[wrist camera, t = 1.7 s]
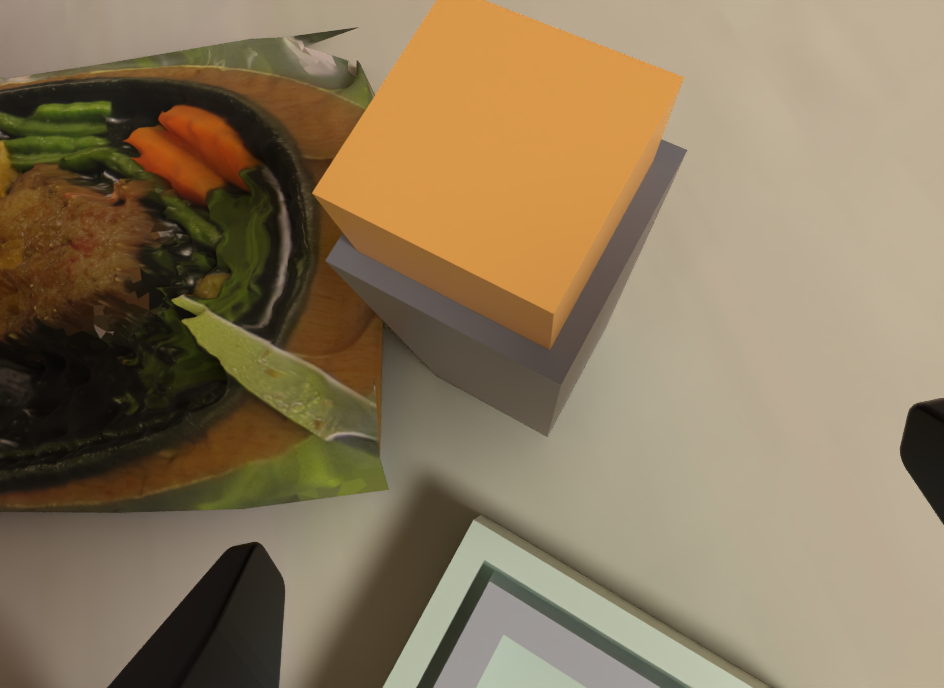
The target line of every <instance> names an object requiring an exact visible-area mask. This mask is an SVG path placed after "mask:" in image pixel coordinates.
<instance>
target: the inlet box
mask: <svg viewBox="0 0 944 688" xmlns="http://www.w3.org/2000/svg"><path fill="white" fill-rule="evenodd" d="M383 688H771V687H770V686H768V685H766V684H765V683H763V682H761V681H760V680H758V679H756V678H755V677H753V676H751V675H750V674H748V673H746V672H745V671H743V670H741V669H740V668H738V667H736V666H734V665H733V664H731V663H729V662H728V661H726V660H724V659H723V658H721V657H719V656H718V655H716V654H714V653H713V652H711V651H709V650H708V649H706V648H704V647H703V646H701V645H699V644H698V643H696V642H694V641H693V640H691V639H689V638H688V637H686V636H684V635H683V634H681V633H679V632H678V631H676V630H674V629H673V628H671V627H669V626H668V625H666V624H664V623H663V622H661V621H659V620H657V619H656V618H654V617H652V616H651V615H649V614H647V613H646V612H644V611H642V610H641V609H639V608H637V607H636V606H634V605H632V604H631V603H629V602H627V601H626V600H624V599H622V598H621V597H619V596H617V595H616V594H614V593H612V592H611V591H609V590H607V589H606V588H604V587H602V586H601V585H599V584H597V583H596V582H594V581H592V580H591V579H589V578H587V577H586V576H584V575H582V574H580V573H579V572H577V571H575V570H574V569H572V568H570V567H569V566H567V565H565V564H564V563H562V562H560V561H559V560H557V559H555V558H554V557H552V556H550V555H549V554H547V553H545V552H544V551H542V550H540V549H539V548H537V547H535V546H534V545H532V544H530V543H529V542H527V541H525V540H524V539H522V538H520V537H519V536H517V535H515V534H514V533H512V532H510V531H509V530H507V529H505V528H503V527H502V526H500V525H498V524H497V523H495V522H493V521H492V520H490V519H488V518H487V517H485V516H483V515H480V516H478V517H477V518H475V519H474V520H473V522H472V524H471V525H470V527H469V529H468V531H467V533H466V535H465V536H464V538H463V540H462V542H461V544H460V546H459V548H458V549H457V551H456V553H455V555H454V557H453V559H452V561H451V562H450V564H449V566H448V568H447V570H446V572H445V573H444V575H443V577H442V579H441V581H440V583H439V585H438V586H437V588H436V590H435V592H434V594H433V596H432V597H431V599H430V601H429V603H428V605H427V607H426V609H425V610H424V612H423V614H422V616H421V618H420V620H419V622H418V623H417V625H416V627H415V629H414V631H413V633H412V634H411V636H410V638H409V640H408V642H407V644H406V646H405V647H404V649H403V651H402V653H401V655H400V657H399V658H398V660H397V662H396V664H395V666H394V668H393V670H392V671H391V673H390V675H389V677H388V679H387V681H386V683H385V684H384V686H383Z"/></svg>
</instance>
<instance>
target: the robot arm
mask: <svg viewBox="0 0 944 688" xmlns="http://www.w3.org/2000/svg"><path fill="white" fill-rule="evenodd" d="M900 456H901V459H902V462H903V464H904V466H905V468H906V470H907V471H908V473H909V474H910V476H911V477H912V479H913V480H914V481H915V483H916V484H917V486H918V487H919V489H920V490H921V492H922V493H923V495H924V496H925V498H926V499H927V501H928V502H929V504H930V505H931V507H932V508H933V510H934V511H935V513H936V514H937V516H938V517H939V519H940V520H941V522H942V523H943V525H944V398H939V399H934V400H930V401H925V402H920V403H916V404H914V405H913V406H912V407H911V408H910V409H909V412H908V415H907V419H906V424H905V428H904V432H903V437H902V441H901V445H900ZM284 603H285V585H284V580H283V577H282V575H281V573H280V572H279V570H278V569H277V567H276V566H275V564H274V562H273V561H272V559H271V558H270V556H269V554H268V553H267V551H266V550H265V548H264V547H263V546H262V545H261V544H260V543H258V542H251V543H247V544H242V545H237V546H233V547H231V548H229V549H228V550H226V551H225V552H224V553H223V554H222V556H221V557H220V558H219V559H218V560H217V561H216V563H215V564H214V565H213V566H212V567H211V568H210V569H209V571H208V572H207V573H206V574H205V575H204V576H203V578H202V579H201V580H200V581H199V582H198V583H197V584H196V586H195V587H194V588H193V589H192V590H191V591H190V593H189V594H188V595H187V596H186V597H185V598H184V599H183V601H182V602H181V603H180V604H179V605H178V606H177V608H176V609H175V610H174V611H173V612H172V613H171V615H170V616H169V617H168V618H167V619H166V620H165V621H164V623H163V624H162V625H161V626H160V627H159V628H158V630H157V631H156V632H155V633H154V634H153V635H152V636H151V638H150V639H149V640H148V641H147V642H146V643H145V645H144V646H143V647H142V648H141V649H140V650H139V651H138V653H137V654H136V655H135V656H134V657H133V658H132V660H131V661H130V662H129V663H128V664H127V665H126V666H125V668H124V669H123V670H122V671H121V672H120V673H119V675H118V676H117V677H116V678H115V679H114V680H113V681H112V683H111V684H110V685H109V686H108V687H107V688H279V680H280V665H281V649H282V634H283V619H284Z"/></svg>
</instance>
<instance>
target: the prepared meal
mask: <svg viewBox="0 0 944 688" xmlns="http://www.w3.org/2000/svg"><path fill="white" fill-rule="evenodd" d="M358 28H359V27H358ZM353 29H356V28H350V29H343V30H336V31H328V32H321V33H313V34H306V35H299V36H291V37H282V38H263V39H248V40H242V41H236V42H230V43H224V44H219V45H213V46H207V47H201V48H195V49H189V50H183V51H177V52H171V53H166V54H160V55H154V56H148V57H142V58H136V59H130V60H124V61H118V62H113V63H107V64H101V65H94V66H88V67H81V68H74V69H68V70H61V71H54V72H48V73H41V74H34V75H27V76H21V77H14V78H0V512H95V513H122V512H153V511H187V510H220V509H246V508H253V507H261V506H268V505H276V504H283V503H291V502H298V501H306V500H314V499H321V498H329V497H336V496H344V495H351V494H359V493H366V492H374V491H382V490H389V489H388V485H387V482H386V478H385V475H384V471H383V467H382V464H381V460H380V428H381V387H382V346H383V320H382V319H381V318H380V317H379V316H378V315H377V314H376V313H375V312H374V311H373V310H372V309H371V308H370V307H369V306H368V305H367V303H366V302H365V301H364V300H363V299H362V298H361V297H360V296H359V295H358V294H357V293H356V292H355V291H354V290H353V289H352V288H351V287H350V286H349V285H348V284H347V283H346V282H345V281H344V280H343V279H342V278H341V277H340V276H339V275H338V273H337V272H336V271H335V270H334V269H333V268H332V267H331V266H330V265H329V264H328V263H327V262H326V261H325V260H326V259H327V257H328V256H329V254H330V252H331V251H332V249H333V248H334V246H335V244H336V243H337V241H338V240H339V238H340V236H341V235H342V233H343V232H342V231H341V229H340V228H339V227H338V226H337V224H336V223H335V222H334V221H333V219H332V218H331V217H330V215H329V214H328V213H327V212H326V210H325V209H324V208H323V207H322V205H321V204H320V203H319V201H318V200H317V199H316V198H315V196H314V195H313V194H312V192H313V191H314V189H315V188H316V186H317V185H318V183H319V181H320V180H321V178H322V177H323V175H324V174H325V172H326V171H327V169H328V168H329V166H330V164H331V163H332V161H333V160H334V158H335V157H336V155H337V154H338V152H339V151H340V149H341V147H342V146H343V144H344V143H345V141H346V140H347V138H348V137H349V135H350V134H351V132H352V130H353V129H354V127H355V126H356V124H357V123H358V121H359V120H360V118H361V117H362V115H363V113H364V112H365V110H366V109H367V107H368V106H369V104H370V103H371V101H372V100H373V98H374V96H375V94H374V92H373V90H372V88H371V86H370V84H369V82H368V80H367V78H366V76H365V73H364V71H363V69H362V67H361V65H360V63H359V62H358V61H357V73H356V77H355V76H353V75H352V74H351V73H350V72H349V71H348V61H347V60H344V59H341V58H338V57H335V56H331V55H328V54H325V53H322V52H319V51H316V50H312V49H309V48H306V47H305V46H308V45H311V44H314V43H317V42H319V41H322V40H325V39H328V38H331V37H333V36H336V35H339V34H342V33H345V32H347V31H350V30H353Z"/></svg>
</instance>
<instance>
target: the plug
mask: <svg viewBox="0 0 944 688" xmlns="http://www.w3.org/2000/svg"><path fill="white" fill-rule="evenodd" d="M683 79H684V77H682V76H679V75H677V74H674V73H671V72H669V71H666V70H664V69H661V68H659V67H656V66H653V65H651V64H648V63H646V62H643V61H640V60H638V59H635V58H633V57H630V56H627V55H625V54H622V53H620V52H617V51H614V50H612V49H609V48H607V47H604V46H601V45H599V44H596V43H594V42H591V41H588V40H586V39H583V38H581V37H578V36H575V35H573V34H570V33H568V32H565V31H563V30H560V29H557V28H555V27H552V26H550V25H547V24H544V23H542V22H539V21H537V20H534V19H531V18H529V17H526V16H524V15H521V14H518V13H516V12H513V11H511V10H508V9H505V8H503V7H500V6H498V5H495V4H492V3H490V2H487V1H485V0H437V1H436V2H435V4H434V5H433V7H432V8H431V10H430V11H429V13H428V15H427V16H426V18H425V19H424V21H423V22H422V24H421V25H420V27H419V28H418V30H417V32H416V33H415V35H414V36H413V38H412V39H411V41H410V42H409V44H408V45H407V47H406V49H405V50H404V52H403V53H402V55H401V56H400V58H399V59H398V61H397V62H396V64H395V66H394V67H393V69H392V70H391V72H390V73H389V75H388V76H387V78H386V79H385V81H384V83H383V84H382V86H381V87H380V89H379V90H378V92H377V93H376V95H375V96H374V98H373V100H372V101H371V103H370V104H369V106H368V107H367V109H366V110H365V112H364V113H363V115H362V117H361V118H360V120H359V121H358V123H357V124H356V126H355V127H354V129H353V130H352V132H351V134H350V135H349V137H348V138H347V140H346V141H345V143H344V144H343V146H342V147H341V149H340V151H339V152H338V154H337V155H336V157H335V158H334V160H333V161H332V163H331V164H330V166H329V168H328V169H327V171H326V172H325V174H324V175H323V177H322V178H321V180H320V181H319V183H318V185H317V186H316V188H315V189H314V191H313V192H312V194H313V195H314V196H315V198H316V199H317V200H318V201H319V203H320V204H321V205H322V207H323V208H324V209H325V210H326V212H327V213H328V214H329V215H330V217H331V218H332V219H333V221H334V222H335V223H336V224H337V226H338V227H339V228H340V229H341V231H342V232H343V233H342V235H341V236H340V238H339V240H338V241H337V243H336V244H335V246H334V248H333V249H332V251H331V252H330V254H329V256H328V257H327V259H326V260H325V261H326V262H327V263H328V264H329V265H330V266H331V267H332V268H333V269H334V270H335V271H336V272H337V273H338V275H339V276H340V277H341V278H342V279H343V280H344V281H345V282H346V283H347V284H348V285H349V286H350V287H351V288H352V289H353V290H354V291H355V292H356V293H357V294H358V295H359V296H360V297H361V298H362V299H363V300H364V301H365V302H366V303H367V305H368V306H369V307H370V308H371V309H372V310H373V311H374V312H375V313H376V314H377V315H378V316H379V317H380V318H381V319H382V320H383V321H384V322H385V323H386V324H387V325H388V326H389V327H390V328H391V329H392V330H393V331H394V332H395V333H396V335H397V336H398V337H399V338H400V339H401V340H402V341H403V342H404V343H405V344H406V345H407V346H408V347H409V348H410V349H411V350H412V351H413V352H414V353H415V354H416V355H417V356H418V357H419V358H420V359H421V360H422V361H423V362H424V363H425V364H426V366H427V367H428V368H429V369H430V370H431V371H432V372H433V373H434V374H435V375H436V376H438V377H440V378H442V379H443V380H445V381H447V382H449V383H451V384H452V385H454V386H456V387H458V388H460V389H461V390H463V391H465V392H467V393H469V394H471V395H472V396H474V397H476V398H478V399H480V400H481V401H483V402H485V403H487V404H489V405H491V406H492V407H494V408H496V409H498V410H500V411H501V412H503V413H505V414H507V415H509V416H511V417H512V418H514V419H516V420H518V421H520V422H521V423H523V424H525V425H527V426H529V427H531V428H532V429H534V430H536V431H538V432H540V433H541V434H543V435H545V436H547V437H548V435H549V433H550V431H551V429H552V427H553V425H554V423H555V422H556V420H557V418H558V416H559V414H560V412H561V410H562V408H563V407H564V405H565V403H566V401H567V399H568V397H569V395H570V393H571V392H572V390H573V388H574V386H575V384H576V382H577V380H578V378H579V377H580V375H581V373H582V371H583V369H584V367H585V365H586V363H587V362H588V360H589V358H590V356H591V354H592V352H593V350H594V348H595V347H596V345H597V343H598V341H599V339H600V337H601V335H602V333H603V331H604V330H605V328H606V326H607V324H608V322H609V319H610V317H611V315H612V313H613V311H614V309H615V306H616V304H617V302H618V300H619V298H620V295H621V293H622V291H623V289H624V287H625V285H626V282H627V280H628V278H629V276H630V274H631V271H632V269H633V267H634V265H635V263H636V261H637V258H638V256H639V254H640V252H641V250H642V248H643V245H644V243H645V241H646V239H647V237H648V234H649V232H650V230H651V228H652V226H653V224H654V221H655V219H656V217H657V215H658V213H659V210H660V208H661V206H662V204H663V202H664V200H665V197H666V195H667V193H668V191H669V189H670V187H671V184H672V182H673V180H674V178H675V176H676V173H677V171H678V169H679V167H680V165H681V163H682V160H683V158H684V156H685V154H686V152H687V150H686V149H683V148H681V147H678V146H676V145H674V144H671V143H669V142H666V141H664V140H662V136H663V133H664V131H665V128H666V125H667V122H668V120H669V117H670V114H671V111H672V109H673V106H674V103H675V101H676V98H677V95H678V92H679V90H680V87H681V84H682V82H683Z"/></svg>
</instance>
